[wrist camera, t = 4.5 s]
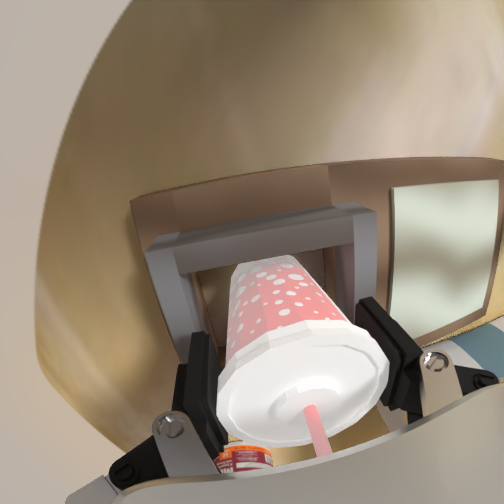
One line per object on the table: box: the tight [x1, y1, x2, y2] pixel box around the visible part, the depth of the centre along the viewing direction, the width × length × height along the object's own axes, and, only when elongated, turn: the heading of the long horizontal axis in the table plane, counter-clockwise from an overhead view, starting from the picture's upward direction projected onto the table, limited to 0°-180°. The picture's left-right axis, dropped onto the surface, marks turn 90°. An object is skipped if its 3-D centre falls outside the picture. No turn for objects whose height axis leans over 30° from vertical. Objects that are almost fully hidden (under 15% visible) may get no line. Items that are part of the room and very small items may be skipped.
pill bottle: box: [215, 441, 273, 473], centre depth 18 cm, size 6×6×11 cm
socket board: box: [130, 157, 504, 371], centre depth 15 cm, size 14×26×4 cm, turn 99°
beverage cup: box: [216, 255, 390, 457], centre depth 10 cm, size 6×6×14 cm
